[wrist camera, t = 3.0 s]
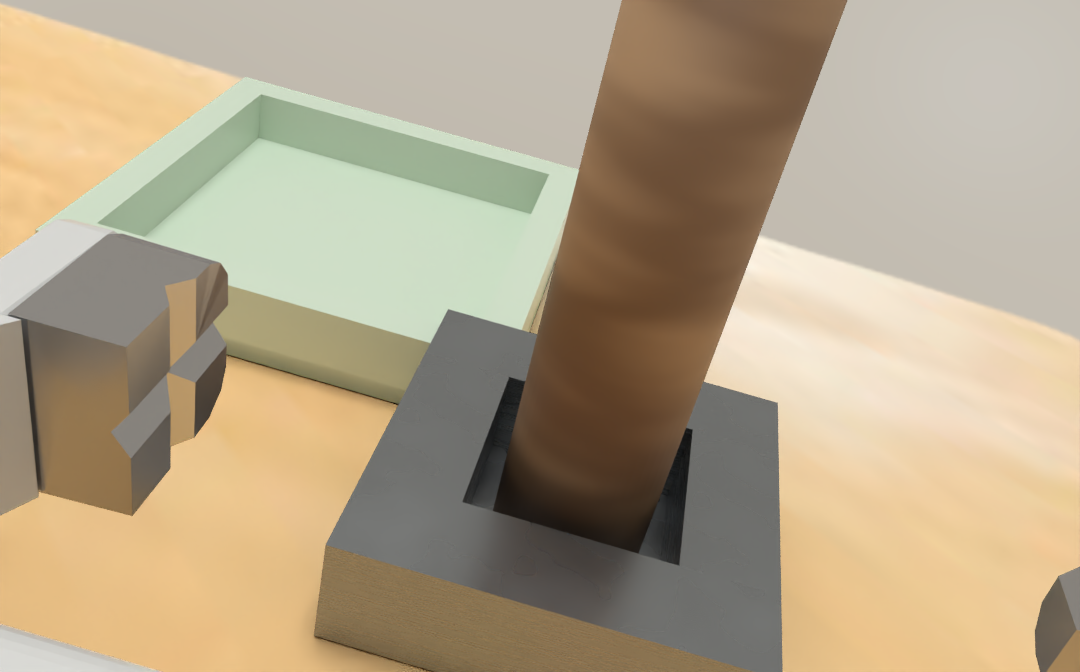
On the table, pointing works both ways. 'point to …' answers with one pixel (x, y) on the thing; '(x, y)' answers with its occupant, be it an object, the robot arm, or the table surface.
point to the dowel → (656, 251)
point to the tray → (341, 229)
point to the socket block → (551, 538)
